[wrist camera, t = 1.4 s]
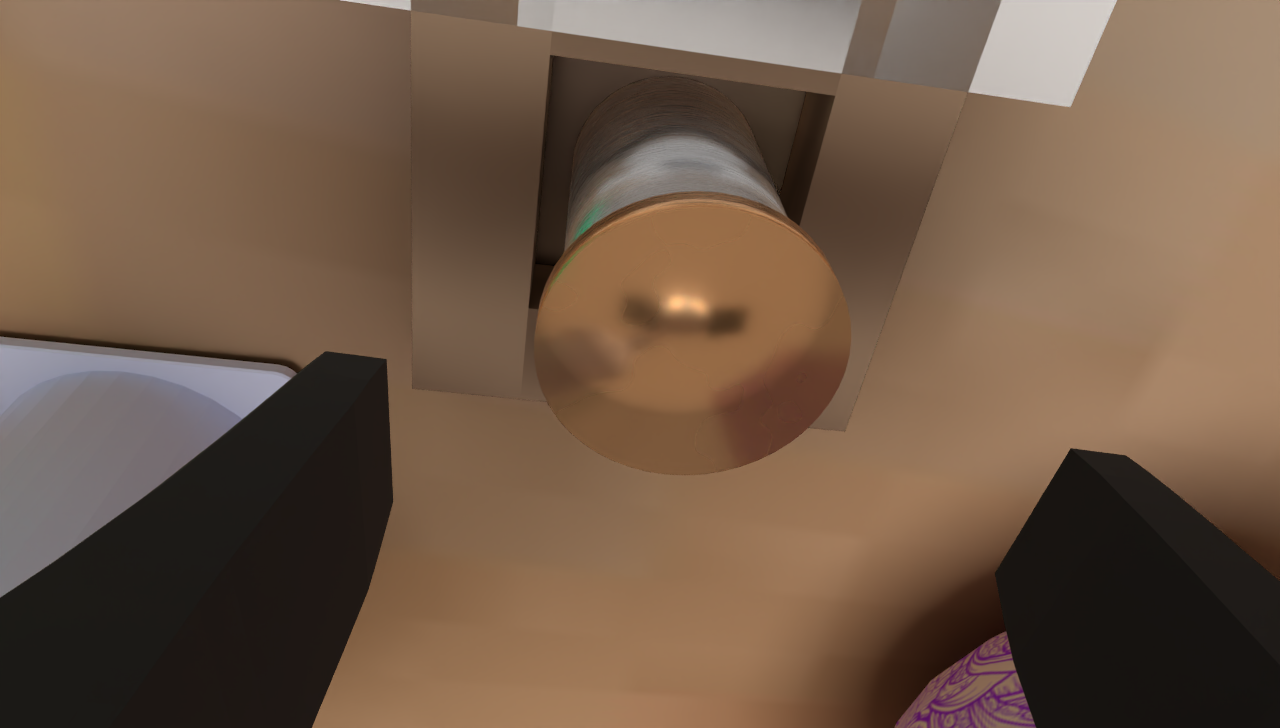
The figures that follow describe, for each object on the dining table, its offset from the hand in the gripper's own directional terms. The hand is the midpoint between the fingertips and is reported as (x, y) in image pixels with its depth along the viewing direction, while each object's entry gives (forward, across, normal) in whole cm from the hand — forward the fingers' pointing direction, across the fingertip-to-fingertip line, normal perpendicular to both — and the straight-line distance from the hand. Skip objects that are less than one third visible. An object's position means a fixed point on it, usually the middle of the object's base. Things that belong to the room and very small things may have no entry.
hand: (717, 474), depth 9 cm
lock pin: (+10, 0, +1) cm, 11 cm away
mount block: (+10, 0, +1) cm, 11 cm away
